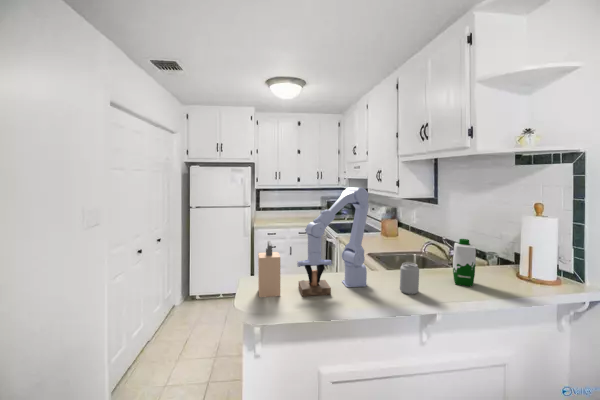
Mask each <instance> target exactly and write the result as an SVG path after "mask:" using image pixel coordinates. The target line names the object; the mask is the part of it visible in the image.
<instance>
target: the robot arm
mask: <svg viewBox="0 0 600 400" xmlns="http://www.w3.org/2000/svg"><path fill="white" fill-rule="evenodd" d="M369 196H370V194H369V192H368V191H367V190H366V188H364V187H354V186H347V187H346V188H345V189H344V190H343V191H342V193H341V194H340V196H339V197H338V199H336V201H335V202H334V203H333V204H332V205H331V206H330V208H329V209H323V210H321V211H320V214H319V215H318V216H317V217H316V218H314V219H313V221H310V222H309V223H307V225H306V226H305V228H304V229H305V230H304V231H305V233H306V235H307V259H305V260H297V261H296V263H297V264H296V265H297V268H299V267H304V268H305V271H306V274H307V277H308V281H309V283H312V277H311V275H312V270H313V269H312V266H313V267H314V266H316V270H317V271H318V277H317V283H319V282H320V280H321V277H322V275H323V273H324V270H325V268H326V267H325V266H329V267H330V266H332V264H333V263H332V260H331V259H322V236H323V235H324V234H325V230H326V229H327V228H328V227H329V225H330V224H331V223H332V222H334V220H335V215H336V214H337V213H338V212H340V210H342V209H343V208H344V207H345V206H346V205H347V204H351V205H352V206H353V207H354V208H355V212H354V215H353V216H354V217H353V221H352V226H351V232H350V237H349V241H348V243H347V244H346V245H345V246H344V249H343V250H342V253H341V259H342V261H343V263H344V279H342V280H341V282H342V284H343V285H344V286H345V287H346V288H357V287H358V288H361V287H367V286H368V285H367V277H368V276H367V273H368V272H367V267H366V265H365V263H364V262H365V257H366V256H365V248H364V247H363V246H362V242H363V238H364V234H365V228H366V223H367V218H368V212H369Z"/></svg>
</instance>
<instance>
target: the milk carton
mask: <svg viewBox="0 0 600 400" xmlns="http://www.w3.org/2000/svg"><path fill="white" fill-rule="evenodd" d="M476 248H477V247H476V246H475V245H474V244H473V243H470V239H468V238H459V241H458V242H454V244H453V259H452V260H453V261H452V275H453V282H454V284H455V285H457V286H462V285H465V286H464V287H470V286H473V287H474V281H475V276H476V255H477V250H476Z"/></svg>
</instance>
